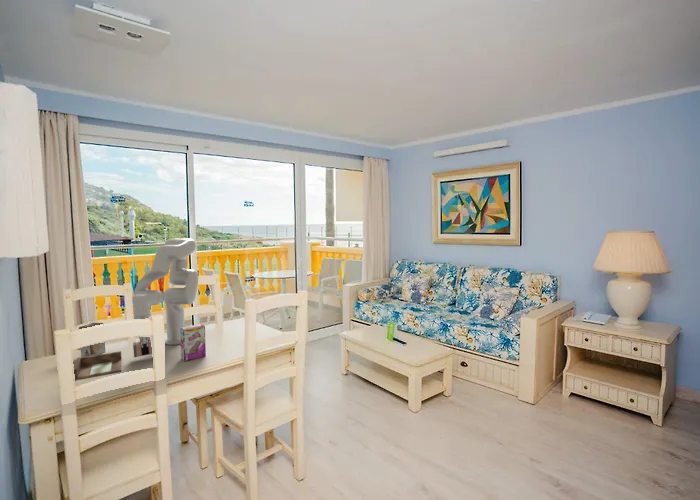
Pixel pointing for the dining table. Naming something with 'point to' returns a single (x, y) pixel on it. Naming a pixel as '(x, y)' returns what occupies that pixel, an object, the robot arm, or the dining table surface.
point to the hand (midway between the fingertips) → (145, 352)
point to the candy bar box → (192, 342)
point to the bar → (138, 346)
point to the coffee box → (92, 349)
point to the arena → (97, 365)
